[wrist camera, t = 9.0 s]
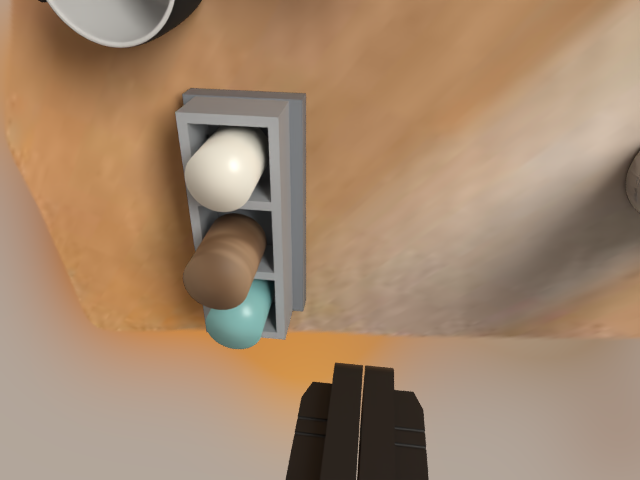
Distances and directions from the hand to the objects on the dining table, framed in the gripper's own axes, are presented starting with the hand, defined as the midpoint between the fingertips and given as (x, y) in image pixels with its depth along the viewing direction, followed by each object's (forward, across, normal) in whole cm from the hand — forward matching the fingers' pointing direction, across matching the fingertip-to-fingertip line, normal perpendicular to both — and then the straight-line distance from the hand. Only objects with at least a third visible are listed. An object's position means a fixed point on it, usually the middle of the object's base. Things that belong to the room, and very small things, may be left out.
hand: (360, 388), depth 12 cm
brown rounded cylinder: (+26, +11, +12) cm, 30 cm away
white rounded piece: (+29, +11, +5) cm, 31 cm away
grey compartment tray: (+32, +11, +12) cm, 36 cm away
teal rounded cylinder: (+29, +11, +19) cm, 36 cm away
